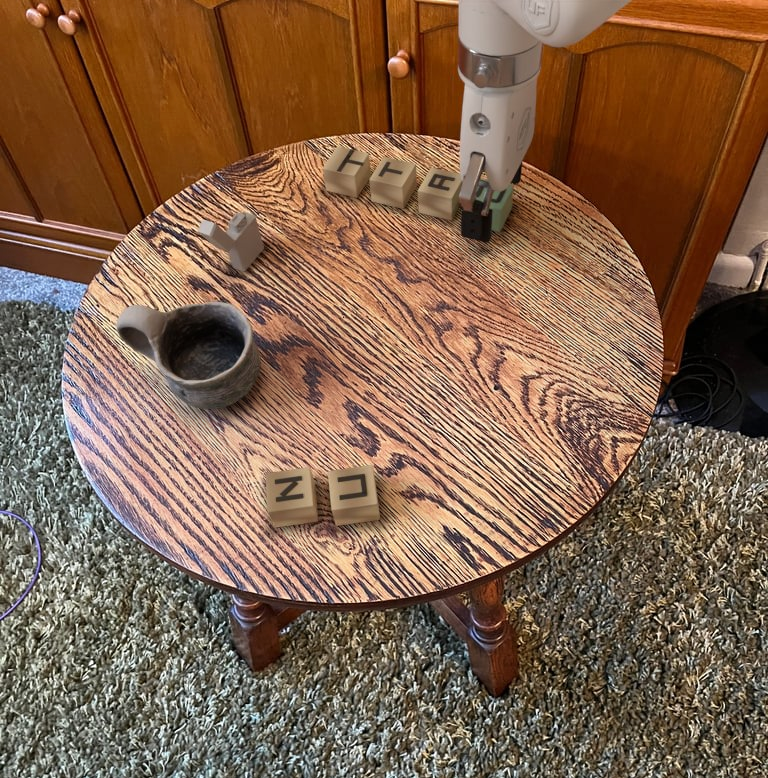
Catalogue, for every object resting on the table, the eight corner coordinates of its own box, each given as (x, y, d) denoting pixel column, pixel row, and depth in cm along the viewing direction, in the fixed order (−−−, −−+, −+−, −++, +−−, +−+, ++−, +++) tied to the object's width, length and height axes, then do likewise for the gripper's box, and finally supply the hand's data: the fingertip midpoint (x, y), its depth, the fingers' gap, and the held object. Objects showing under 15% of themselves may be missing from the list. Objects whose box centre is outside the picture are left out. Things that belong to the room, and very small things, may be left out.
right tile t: (417, 186, 88) (416, 162, 86) (403, 209, 87) (402, 186, 84) (385, 178, 89) (383, 155, 87) (371, 201, 88) (368, 178, 85)
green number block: (512, 208, 86) (514, 184, 83) (500, 232, 84) (501, 209, 81) (478, 200, 87) (479, 176, 84) (465, 223, 85) (466, 200, 82)
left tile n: (315, 483, 71) (309, 465, 68) (318, 521, 69) (313, 505, 66) (272, 489, 71) (265, 472, 68) (274, 528, 69) (267, 511, 66)
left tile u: (375, 481, 70) (372, 463, 67) (380, 519, 68) (377, 503, 66) (332, 487, 70) (327, 470, 68) (336, 526, 68) (331, 509, 66)
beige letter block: (372, 176, 90) (370, 152, 87) (358, 198, 88) (355, 175, 85) (340, 168, 91) (337, 145, 88) (326, 190, 89) (322, 167, 86)
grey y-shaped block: (252, 242, 86) (234, 181, 79) (265, 246, 86) (248, 186, 79) (216, 285, 83) (194, 226, 76) (229, 290, 83) (209, 231, 76)
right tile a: (464, 197, 87) (465, 173, 84) (451, 220, 85) (451, 197, 83) (431, 189, 88) (431, 166, 85) (418, 213, 86) (417, 189, 84)
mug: (263, 425, 74) (237, 357, 65) (137, 428, 75) (95, 362, 66) (272, 346, 79) (250, 274, 70) (153, 350, 80) (116, 279, 71)
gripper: (507, 119, 65) (497, 271, 80) (569, 5, 72) (549, 165, 87) (424, 102, 66) (429, 254, 82) (493, -7, 74) (486, 151, 89)
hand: (491, 208), depth 84 cm, fingers open, 9 cm apart
